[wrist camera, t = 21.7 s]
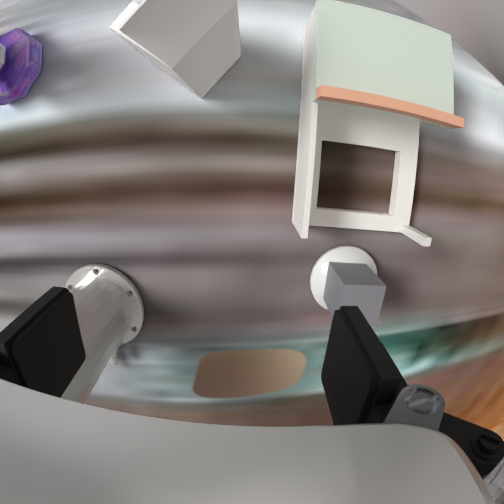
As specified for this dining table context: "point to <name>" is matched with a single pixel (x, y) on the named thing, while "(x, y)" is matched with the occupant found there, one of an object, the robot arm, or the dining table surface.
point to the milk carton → (184, 38)
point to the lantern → (18, 64)
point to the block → (354, 289)
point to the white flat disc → (335, 255)
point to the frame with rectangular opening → (357, 133)
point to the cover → (383, 64)
